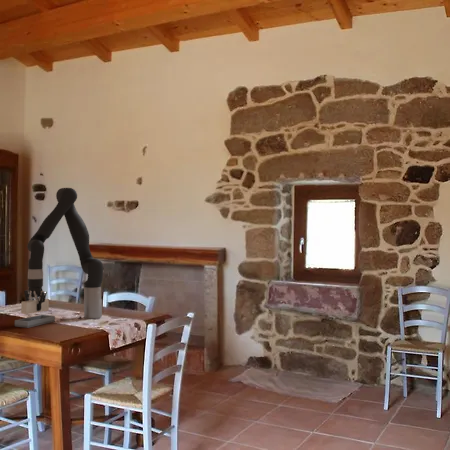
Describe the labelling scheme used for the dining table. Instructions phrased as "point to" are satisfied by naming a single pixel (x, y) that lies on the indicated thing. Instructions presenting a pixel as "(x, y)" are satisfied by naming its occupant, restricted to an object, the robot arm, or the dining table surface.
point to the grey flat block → (34, 321)
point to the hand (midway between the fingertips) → (35, 310)
